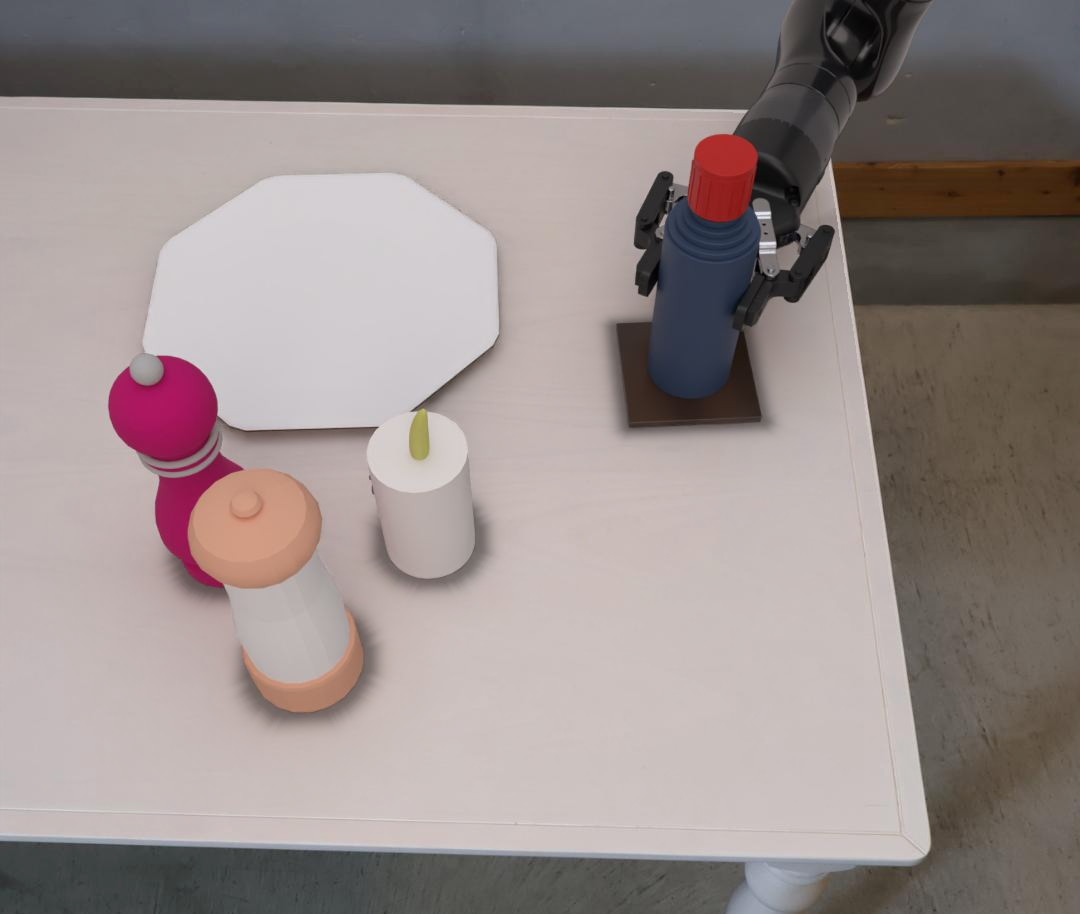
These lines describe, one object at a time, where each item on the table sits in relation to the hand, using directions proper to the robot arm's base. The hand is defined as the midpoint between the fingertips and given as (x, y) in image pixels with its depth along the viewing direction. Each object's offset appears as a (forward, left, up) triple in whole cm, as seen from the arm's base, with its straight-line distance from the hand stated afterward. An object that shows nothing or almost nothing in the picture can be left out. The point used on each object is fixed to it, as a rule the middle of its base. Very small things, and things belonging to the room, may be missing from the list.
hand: (690, 304), depth 77 cm
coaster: (-1, -2, -10) cm, 10 cm away
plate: (+27, -11, -10) cm, 31 cm away
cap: (-1, -2, +7) cm, 8 cm away
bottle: (-1, -2, -9) cm, 9 cm away
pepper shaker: (+27, +21, -10) cm, 36 cm away
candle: (+19, +12, -10) cm, 25 cm away
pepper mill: (+33, +12, -10) cm, 36 cm away
